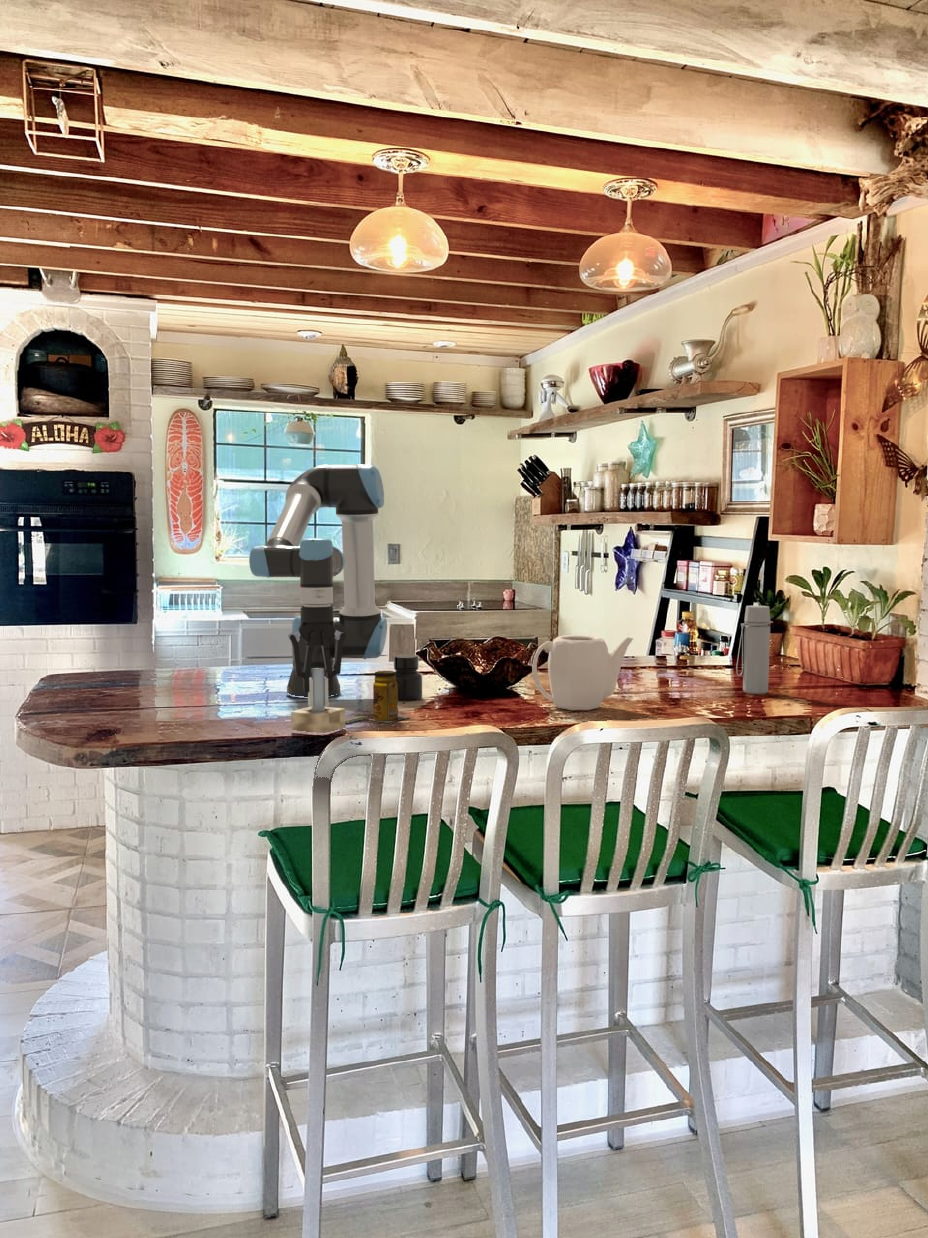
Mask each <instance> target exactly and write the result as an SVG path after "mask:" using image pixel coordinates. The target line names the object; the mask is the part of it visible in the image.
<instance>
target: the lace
mask: <svg viewBox="0 0 928 1238" xmlns="http://www.w3.org/2000/svg"><path fill="white" fill-rule="evenodd" d="M363 719H365V720H367V716H366V715H359V716H357V717H356V716H355V717H351V718H347V719H345V723H347V722H353V721H357V720H361V721H364V720H363ZM357 722H358V721H357ZM353 723H354V722H353Z"/></svg>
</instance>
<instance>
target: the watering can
mask: <svg viewBox="0 0 928 1238" xmlns="http://www.w3.org/2000/svg"><path fill="white" fill-rule="evenodd" d="M633 640H634V638H632V637H629V636H627V637H626V638H625V639H624V640H623V641H621V642H620V644H619V645H618V646H617V647H616V648H615V649H614V650H613V652H611V653H609V648H608V646H607V643H606V641H605V639H604V638H601V637H599V636H594V635H586V634H585V635H583V634H582V635H579V634H572V635H570V634H568V635H560V636H559V635H558V636H557V637H555V638H554V639H553V641H551V640H547V641H546V642H543V643H542V644H541V645H540V646H538V647H537V650H536V652H535V654H534V656H533V661H532V666H531V669H532V673H531V674H532V677H533V682H534V684H535V687H536V689H537V690H538V691H539V692H540V693H541V694H542V696H543V697H544V698H545V699H546V700H549V701H550V702H552V703H553V704H554V706H555V707H556V708H557V709H560V708H561V709H562V710H568V711H591V710H594V709H595V710H596V709H599V708H600V707H601V704H602V702H603V700H604V699H606V698H609V697H611V696H612V695H613V694H614V693H615V690H616V687H617V683H618V681H619V680H618V678H619V676H620V671H621V667H622V664H623V660H624V657H625V655H626V652H627V650H628V647H629V646H630V644H631V643H632V641H633ZM544 649H547V650H549V652H548V653H549V654H548V658H547V674H548V680H549V688H550V692H551V694H550V693H548V692H547V691H546V690H545V688H544V687H543V685H542V683H541V681H540V677H539V674H538V665H537V664H538V660H539V656H540V655H541V652H542V651H543V650H544Z"/></svg>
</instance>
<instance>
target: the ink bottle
mask: <svg viewBox="0 0 928 1238" xmlns="http://www.w3.org/2000/svg"><path fill="white" fill-rule="evenodd" d="M393 667H394V668H393V670H395V671H394V672H395V673H396V682H397V684H398V702H415V701H418V700H419V701H420V700H421V699H422V698H423V676H422V674H421V673H420V672H419V671H418V670H419V655H416V654H397V655H394V656H393Z"/></svg>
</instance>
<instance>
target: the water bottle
mask: <svg viewBox="0 0 928 1238" xmlns="http://www.w3.org/2000/svg"><path fill="white" fill-rule="evenodd" d="M770 611H771V610H770V606H767V605H746V606H745V613H744V620H743V621H744V622H743V623H740V626H741V627H740V628H741V634H740V638H739V646H738V652H737V653H738V654H737V660H736V668H735V669H736V675H737V676H738V677H739V676H740V677H741V676H742V691H743V692H744V693H745V694H748V695H765V694H767V693H768V692H769V675H770V648H771V647H770V641H771V626H770V624H771V623H772V621H771V613H770ZM740 649H741V650H740ZM740 651H741V672H740V674H739V673H738V671H739V670H738V664H739V656H740Z"/></svg>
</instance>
